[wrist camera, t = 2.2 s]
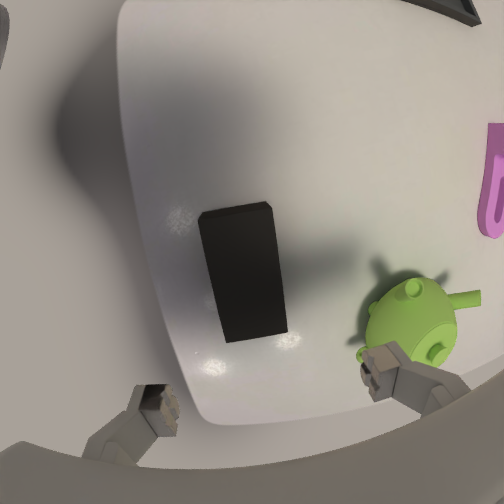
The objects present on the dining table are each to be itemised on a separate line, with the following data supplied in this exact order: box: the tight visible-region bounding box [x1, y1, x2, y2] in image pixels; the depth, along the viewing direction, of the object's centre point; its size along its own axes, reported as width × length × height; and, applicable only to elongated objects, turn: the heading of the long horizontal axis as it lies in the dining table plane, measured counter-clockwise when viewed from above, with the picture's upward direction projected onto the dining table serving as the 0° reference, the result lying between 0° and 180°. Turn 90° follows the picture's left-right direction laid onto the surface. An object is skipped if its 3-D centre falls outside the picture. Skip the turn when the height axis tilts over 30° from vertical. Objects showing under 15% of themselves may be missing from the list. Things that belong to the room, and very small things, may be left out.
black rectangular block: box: [198, 202, 288, 343], centre depth 21 cm, size 10×5×3 cm, turn 9°
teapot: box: [356, 277, 481, 368], centre depth 22 cm, size 11×12×8 cm
